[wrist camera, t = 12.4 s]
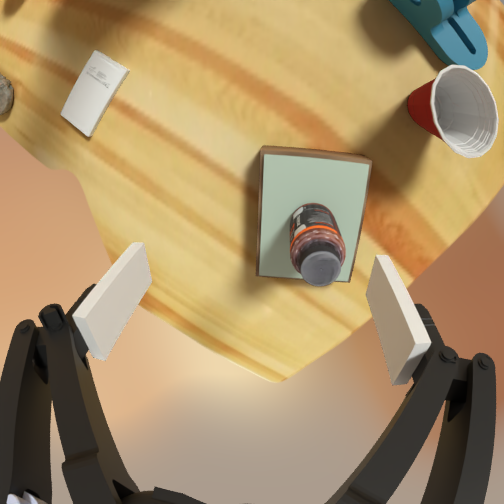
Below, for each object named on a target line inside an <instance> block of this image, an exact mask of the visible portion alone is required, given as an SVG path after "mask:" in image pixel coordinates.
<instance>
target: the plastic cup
mask: <svg viewBox="0 0 504 504" xmlns="http://www.w3.org/2000/svg"><path fill="white" fill-rule="evenodd" d="M407 106H408V111H409V114H410V115H411V117H412V119H413V120H414V121H415V122H416V123H417V124H418V125H419V126H421V127H423V128H424V129H426V130H427V131H428V132H430V133H432V134H433V135H435V136H437V137H438V138H440V139H442V140H443V141H444V142H445V143H446V144H447V145H448V146H449V147H450V148H451V149H452V150H453V151H454V152H455V153H458V154H460V155H462V156H465V157H467V158H474V157H481V156H482V155H483V154H485V153H486V152H487V151H488V150H489V149H491V147H492V145H493V142H494V140H495V138H496V136H497V129H498V120H499V119H498V113H497V107H496V102H495V99H494V97H493V95H492V93H491V90H490V88H489V86H488V85H487V84H486V83H485V81H484V80H483V79H482V78H481V77H480V75H479V74H478V73H476V72H475V71H473V70H471V69H470V68H468V67H466V66H463V65H450V66H448V67H447V68H445V69H443V70H441V71H440V72H439V73H438V75H437V77H436V78H435V79H434V80H432V81H430V82H428V83H426V84H424V85H423V86H421V87H419V88H418V89H416V90H414V91H413V92H412V93H411V95H410V96H409V98H408V105H407Z"/></svg>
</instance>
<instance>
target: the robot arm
mask: <svg viewBox="0 0 504 504" xmlns="http://www.w3.org/2000/svg"><path fill="white" fill-rule="evenodd" d="M151 283H152V279H151V274H150V269H149V265H148V260H147V255H146V250H145V245H144V243H139V242H133V243H132V244H131V245H130V246H129V247H128V248H127V249H126V251H125V252H124V253H123V254H122V255H121V256H120V257H119V259H118V260H117V261H116V262H115V263H114V264H113V265H112V267H111V268H110V269H109V270H108V272H107V273H106V274H105V275H104V276H103V278H102V279H101V280H100V281H99V282H98V283H97V284H93V285H91V286H90V287H89V288H87V289H86V290H85V291H84V292H83V294H82V295H81V296H80V297H79V298H78V300H77V302H75V303H74V305H73V306H72V307H71V308H70V310H69V311H68V312H67V314H66V315H65V314H64V312H63V309H62V307H61V305H59V304H50V305H48V306H45V307H44V308H43V309H42V310H41V311H40V313H39V316H38V317H39V319H40V321H41V323H42V325H43V327H36V325H35V323H34V321H33V320H30V319H27V320H24V321H22V322H20V323H19V324H18V325H17V326H16V328H15V331H14V334H13V337H12V340H11V343H10V347H9V350H8V353H7V357H6V360H5V364H4V368H3V372H2V376H1V381H0V504H52V482H51V465H50V420H51V403H52V401H53V407H54V412H55V417H56V422H57V427H58V431H59V436H60V440H61V444H62V447H63V451H64V455H65V462H63V463H62V471H63V475H64V478H65V481H66V484H67V487H68V490H69V493H70V496H71V499H72V501H73V504H206V503H203V502H201V501H198V500H196V499H194V498H192V497H189V496H187V495H185V494H183V493H178V492H174V491H170V490H166V489H162V488H158V487H155V488H154V491H143V492H140V491H139V489H138V487H137V486H136V484H135V483H134V481H133V480H132V479H131V477H130V476H129V474H128V473H127V471H126V468H125V466H124V464H123V462H122V459H121V457H120V455H119V452H118V450H117V448H116V445H115V443H114V440H113V438H112V435H111V432H110V430H109V427H108V424H107V422H106V419H105V416H104V413H103V410H102V407H101V404H100V401H99V398H98V395H97V391H96V388H95V384H94V381H93V377H92V373H91V370H90V366H89V362H88V359H87V357H86V353H87V351H88V350H89V351H90V353H91V355H92V356H93V358H97V359H101V360H104V361H106V359H107V357H108V355H109V353H110V352H111V350H112V348H113V346H114V345H115V343H116V341H117V339H118V337H119V336H120V334H121V332H122V331H123V329H124V327H125V325H126V324H127V322H128V320H129V318H130V317H131V315H132V314H133V312H134V310H135V309H136V307H137V305H138V304H139V302H140V300H141V299H142V297H143V295H144V294H145V292H146V291H147V289H148V287H149V286H150V284H151ZM366 297H367V300H368V303H369V306H370V309H371V312H372V316H373V318H374V322H375V325H376V328H377V332H378V335H379V338H380V341H381V345H382V349H383V352H384V356H385V360H386V363H387V367H388V371H389V375H390V379H391V383H392V385H401V384H407V383H408V381H409V379H410V378H411V377H412V378H413V380H414V384H413V385H412V387H411V388H410V390H409V391H408V393H407V394H406V397H405V399H404V401H403V402H402V404H401V406H400V407H399V409H398V411H397V412H396V414H395V415H394V417H393V418H392V420H391V422H390V423H389V425H388V426H387V428H386V429H385V431H384V432H383V433H382V435H381V436H380V438H379V439H378V441H377V442H376V443H375V445H374V446H373V447H372V449H371V450H370V452H369V453H368V454H367V455H366V457H365V458H364V459H363V461H362V462H361V463H360V464H359V466H358V467H357V468H356V469H355V471H354V472H353V473H352V474H351V475H350V477H349V478H348V479H347V480H346V482H344V484H343V485H342V486H341V487H340V488H339V489H338V490H337V492H336V493H335V494H334V495H333V496H332V497H331V498H330V499H329V500H328V501H327V502H326V503H325V504H386V503H387V501H388V500H389V498H390V497H391V496H392V494H393V493H394V491H395V490H396V489H397V487H398V486H399V484H400V483H401V481H402V479H403V478H404V476H405V475H406V473H407V472H408V470H409V469H410V467H411V465H412V464H413V462H414V460H415V458H416V457H417V455H418V453H419V451H420V449H421V448H422V446H423V444H424V442H425V440H426V439H427V437H428V435H429V433H430V430H431V429H432V427H433V425H434V423H435V420H436V418H437V416H438V414H439V412H440V410H441V407H442V405H443V403H444V401H445V400H446V404H445V411H444V417H443V422H442V428H441V433H440V438H439V442H438V447H437V451H436V455H435V459H434V463H433V466H432V470H431V473H430V477H429V480H428V483H427V487H426V489H425V493H424V495H423V498H422V501H421V504H484V500H485V495H486V491H487V486H488V481H489V476H490V470H491V463H492V456H493V446H494V437H495V420H496V375H495V365H494V362H493V360H492V358H490V357H489V356H488V355H487V354H484V353H478V354H476V355H475V356H474V357H473V359H472V360H468V359H463V358H459V357H458V354H457V353H456V352H455V351H454V350H453V349H452V348H450V347H448V346H445V345H444V343H443V340H442V338H441V336H440V334H439V332H438V330H437V328H436V326H435V324H434V322H433V320H432V318H431V316H430V314H429V312H428V310H427V309H426V308H425V307H424V306H423V305H422V304H414V303H413V301H412V300H411V297H410V295H409V294H408V292H407V289H406V288H405V286H404V284H403V282H402V280H401V278H400V276H399V274H398V272H397V270H396V269H395V267H394V265H393V263H392V261H391V260H390V258H389V256H388V255H376V256H375V261H374V265H373V269H372V273H371V277H370V280H369V284H368V288H367V291H366Z"/></svg>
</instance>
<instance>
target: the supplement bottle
mask: <svg viewBox="0 0 504 504" xmlns="http://www.w3.org/2000/svg"><path fill="white" fill-rule="evenodd" d="M345 257H346V248H345V244H344V241H343V238H342V236H341V233H340V230H339V228H338V225H337V222H336V220H335V217H334V215H333V214H332V212H331V211H330V210H329V209H328V208H327V207H326V206H324V205H322V204H319V203H307V204H304V205H302V206H300V207H299V208H298V209H296V210H295V212H294V213H293V215H292V217H291V220H290V259H291V262H292V265H293V266H294V268H295V270H296V271H297V272H298V273H300V274H301V275H302V277H303V279H304V280H305V281H306V282H307V283H309V284H311V285H314V286H326V285H328V284H331V283H332V282H334V281H335V280H336V279H337V278H338V276H339V274H340V272H341V267H342V265H343V264H344V261H345Z"/></svg>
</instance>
